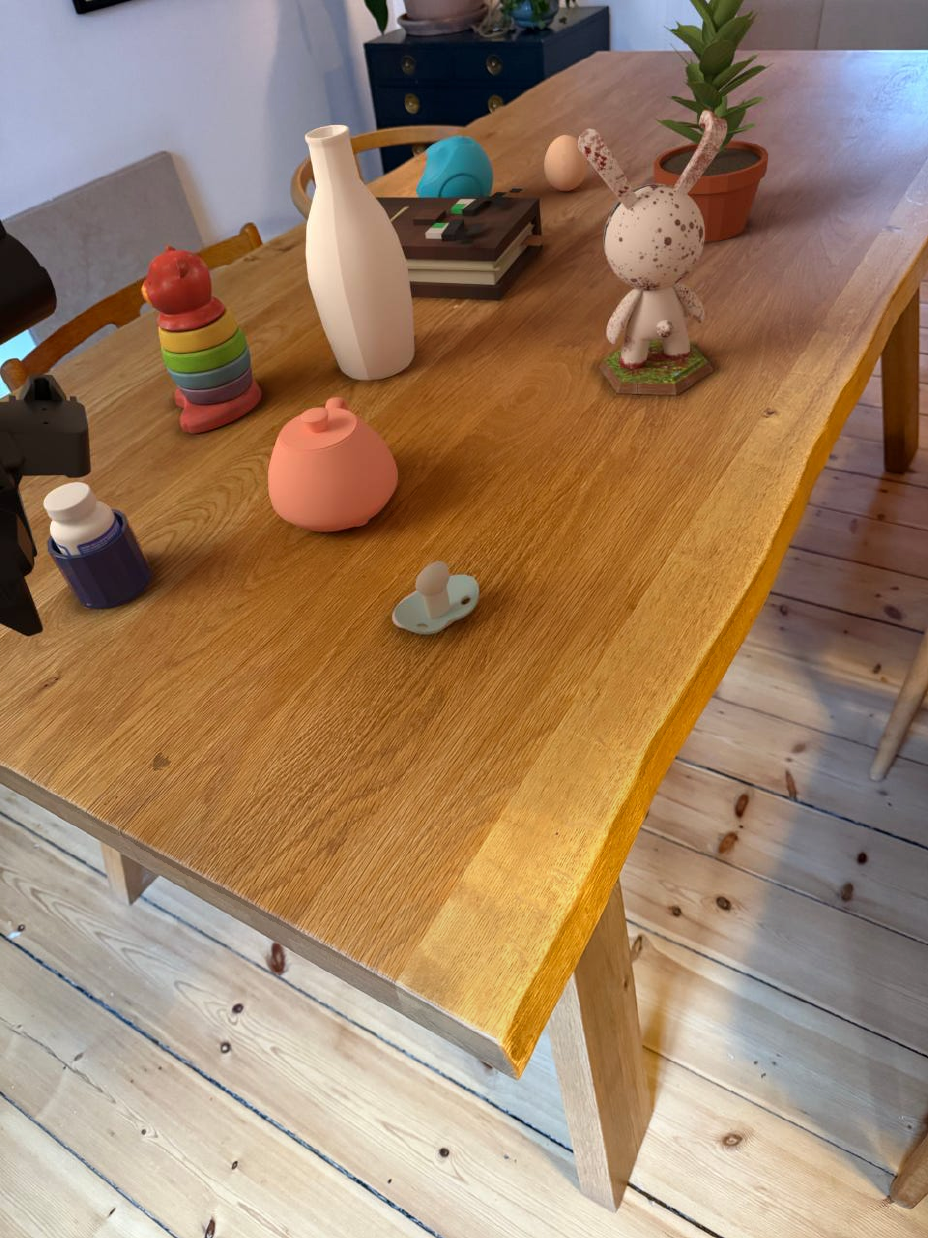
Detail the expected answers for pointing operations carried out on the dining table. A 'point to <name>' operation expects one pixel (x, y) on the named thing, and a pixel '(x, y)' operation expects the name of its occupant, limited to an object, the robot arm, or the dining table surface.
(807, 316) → the dining table surface
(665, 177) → the potted plant
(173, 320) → the stacking bear
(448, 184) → the blue rounded dome
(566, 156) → the egg
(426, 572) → the pacifier
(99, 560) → the dark blue cup
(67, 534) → the pill bottle
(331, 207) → the bottle
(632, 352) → the figurine
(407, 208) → the decorative book
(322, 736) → the dining table surface
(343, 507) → the sugar bowl
